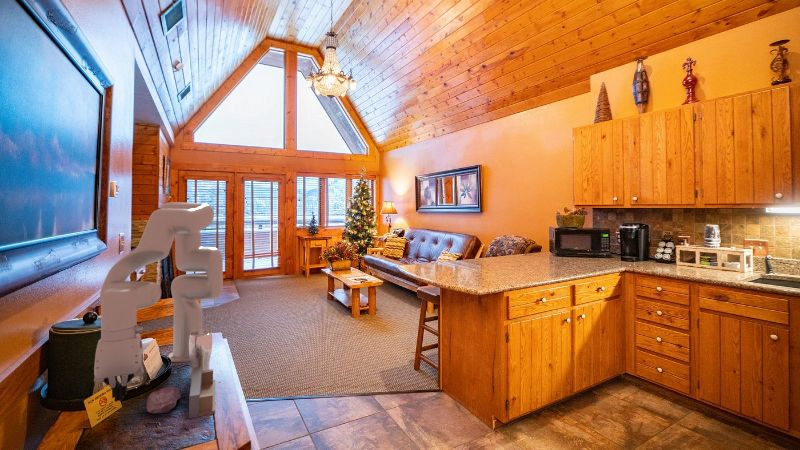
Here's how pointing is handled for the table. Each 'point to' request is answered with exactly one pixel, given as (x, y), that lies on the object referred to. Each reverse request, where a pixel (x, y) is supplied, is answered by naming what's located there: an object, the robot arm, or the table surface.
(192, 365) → the beer glass
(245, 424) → the table surface
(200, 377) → the beige stepped bar
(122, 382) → the robot arm
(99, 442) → the table surface
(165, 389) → the pink rounded lump
